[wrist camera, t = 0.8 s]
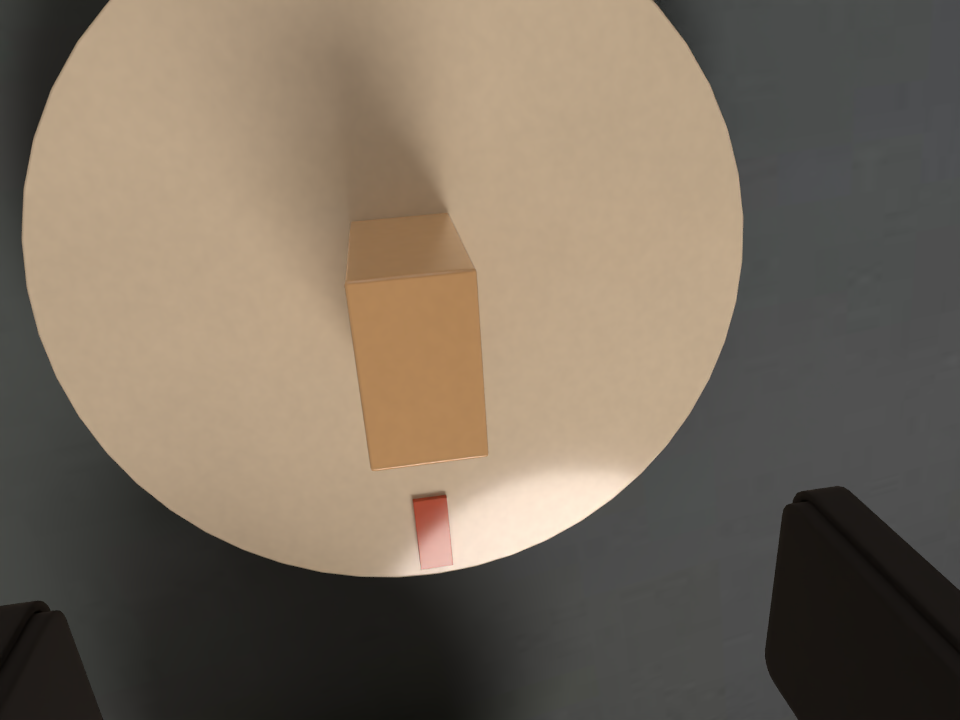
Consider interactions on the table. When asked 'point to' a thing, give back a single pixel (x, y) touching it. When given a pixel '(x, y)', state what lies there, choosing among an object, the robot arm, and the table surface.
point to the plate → (265, 254)
